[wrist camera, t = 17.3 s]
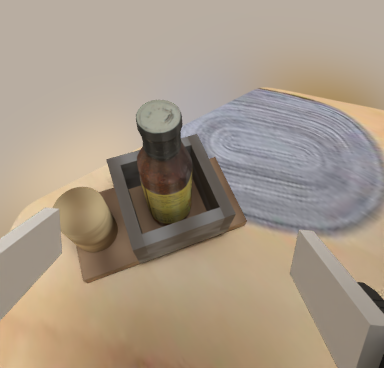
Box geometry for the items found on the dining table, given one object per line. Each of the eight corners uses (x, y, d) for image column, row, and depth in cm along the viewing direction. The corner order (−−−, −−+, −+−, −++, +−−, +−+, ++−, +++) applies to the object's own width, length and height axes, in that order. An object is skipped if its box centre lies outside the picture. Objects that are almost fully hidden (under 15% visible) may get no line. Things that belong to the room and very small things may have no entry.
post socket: (212, 161, 48) (220, 123, 39) (245, 228, 43) (263, 201, 34) (71, 204, 43) (44, 171, 34) (88, 286, 38) (61, 273, 29)
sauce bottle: (199, 212, 41) (214, 125, 24) (165, 236, 39) (154, 161, 22) (173, 181, 44) (169, 81, 26) (139, 203, 42) (111, 110, 24)
